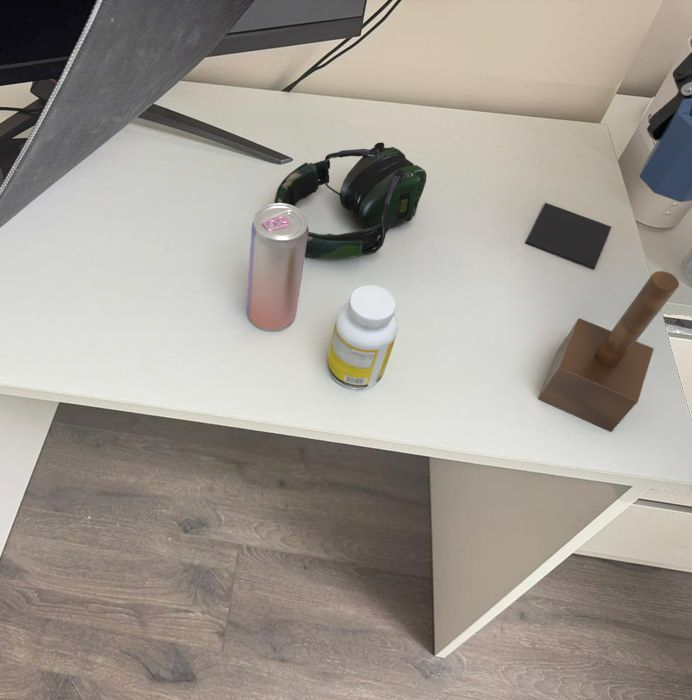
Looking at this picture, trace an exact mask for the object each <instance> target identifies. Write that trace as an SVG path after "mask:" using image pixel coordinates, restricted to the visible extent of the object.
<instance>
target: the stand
mask: <svg viewBox="0 0 692 700" xmlns="http://www.w3.org/2000/svg"><path fill="white" fill-rule="evenodd" d="M679 287H680V282H679V280H678V278H677V277H676V276H675V275H673V274H672V273H670V272H668V271H663V270H657V271H654V272H653V273H652V274H651V275H650V277H649V278H648V279H647V281H646V283H645V284H644V285H643V286H642V288H641V289H640V291H639V292H638V293H637V295H636V296H635V297H634V299H633V300H632V302H631V303H630V304H629V306H627V308H626V310H625V311H624V313H623V314H622V315H621V317H620V318H619V320H618V321H617V322H616V324H615V325H614V326H613V328H612V329H611V330H609V329H607V328H605V327H603V326H600V325H597V324H595V323H593V322H590V321H587V320H586V319H583V318H580V317H579V318H577V320H576V321H575V323H574V325H573V326H572V327H571V329H570V331H569V332H568V333H567V335H566V337H565V338H564V339H563V341H562V343H561V344H560V346H559V347H558V349H557V351H556V353H555V356H554V358H553V360H552V363H551V366H550V368H549V370H548V373H547V375H546V378H545V380H544V382H543V385H542V388H541V390H540V393H539V396H538V398H537V399H538V400H539V401H542V402H543V403H546V404H548V405H550V406H553V407H555V408H557V409H559V410H561V411H564V412H566V413H568V414H570V415H573V416H574V417H577V418H580V419H581V420H583V421H586V422H588V423H590V424H593V425H595V426H596V427H600V428H601V429H604V430H605V431H608V432H613V431H614V429H615V428H617V426H618V425H619V424H620V423H621V421H622V420H623V419H624V418H625V417H626V416H627V415H628V414H629V412H630V411H631V410H632V409H633V408H634V407H635V406H636V405H637V403H638V402H639V399H640V396H641V392H642V390H643V386H644V383H645V379H646V376H647V373H648V369H649V366H650V363H651V360H652V356H653V353H654V347H651V346H649V345H646V344H644V343H641V342H639V341H638V340H639V338H640V337H641V335H642V334H643V333H644V332H645V330H647V328H648V327H649V325H650V324H651V323H652V322H653V320H654V319H655V318H656V316H657V315H658V314H659V312H660V311H661V310H662V309H663V307H665V305H666V304H667V302H668V301H669V300H670V299H671V297H672V296H673V295H674V293H676V291H677V290H678V288H679Z"/></svg>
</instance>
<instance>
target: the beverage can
mask: <svg viewBox="0 0 692 700" xmlns="http://www.w3.org/2000/svg"><path fill="white" fill-rule="evenodd" d="M250 230H251V232H250V247H249V248H250V249H249V265H248V280H247V296H246V313H247V317H248V319H249V320H250V321H251V323H253V324H254V325H255V326H256V327H257V328H260V329H262V330H266V331H273V332H274V331H279V330H282V329H285V328H286V327H288V326H289V325H291V324H292V323H293V322H294V320H295V318H296V316H297V313H298V304H299V299H300V292H301V286H302V285H301V284H302V279H303V272H304V265H305V259H306V255H305V252H306V245H307V239H308V232H310V230H309V221H308V217H307V215H306V213H305V212H303V211H302V210H301V209H300V208H298V207H297V206H296V207H295V206H293V205H290V204H285V203H274V202H273V203H270V204H269V203H268V204H266V205H264V206H262V207H261V208H259V210H258V211H256V213H255V215H254V218H253V221H252V224H251V229H250Z"/></svg>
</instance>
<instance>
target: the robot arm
mask: <svg viewBox="0 0 692 700" xmlns="http://www.w3.org/2000/svg"><path fill="white" fill-rule="evenodd" d="M672 77H673V80H674V84H675V87H676V89H677V93H676V94H675V96H674V97H672V98H671V99H670V100H669V101H668V102H666V103H665V104H664V105H663V106H662V107H661V108H659V109H658V110H657V111H656V112H655V113H653V115H651V117H650V118H649V121H648V123H649V125H648V126H647V128H646V132H647V134H648V136H649V137H651V139H653V140H654V141H658V140H659V138H660V137H661V135H662V133H663V132H664V130H665V128H666V127H667V125H668V123H669V122H670V120H671V118H672V117H673V115H674V114H675V112H676V110H677V109H678V107H679V105H680V104H681V102H682V101H683V100H684V99H690V98H692V51H691V52H690V53H689V54H688V55H687V56H686V57H685V58H684V59H683V60H682V61H681V63H679V65H677V67H676V68H675V69H674V70H673V72H672Z"/></svg>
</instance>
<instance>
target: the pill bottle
mask: <svg viewBox="0 0 692 700" xmlns="http://www.w3.org/2000/svg"><path fill="white" fill-rule="evenodd" d="M396 305H397V302H396V299H395V297H394V295H393V294H392V293H391V292H390V291H389V290H387V288H384V287H382V286H380V285H374V284H365V285H362V286H358V287H357V288H355V289H354V290H353V291H352V292H351V294H350V296H349V300H348V302H347V303H345V304H344V305H343V306H341V308H340V309H339V310H338V312H337V314H336V318H335V322H334V327H333V331H332V337H331V341H330V346H329V351H328V356H327V363H326V364H327V370H328V372H329V374H330V375H331V377H332V378H333V379H334V381H335V382H337V383H338V384H339V385H342V386H343V387H346V388H349V389H354V390H364V389H368V388H371V387H373V386H374V385H377V383H379V382H380V381H381V379H382V378H383V375H384V373H385V371H386V368H387V365H388V362H389V359H390V356H391V354H392V351H393V347H394V344H395V341H396V338H397V335H398V331H399V322H398V317H397V315H396V314H395V312H396V308H397V306H396Z"/></svg>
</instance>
